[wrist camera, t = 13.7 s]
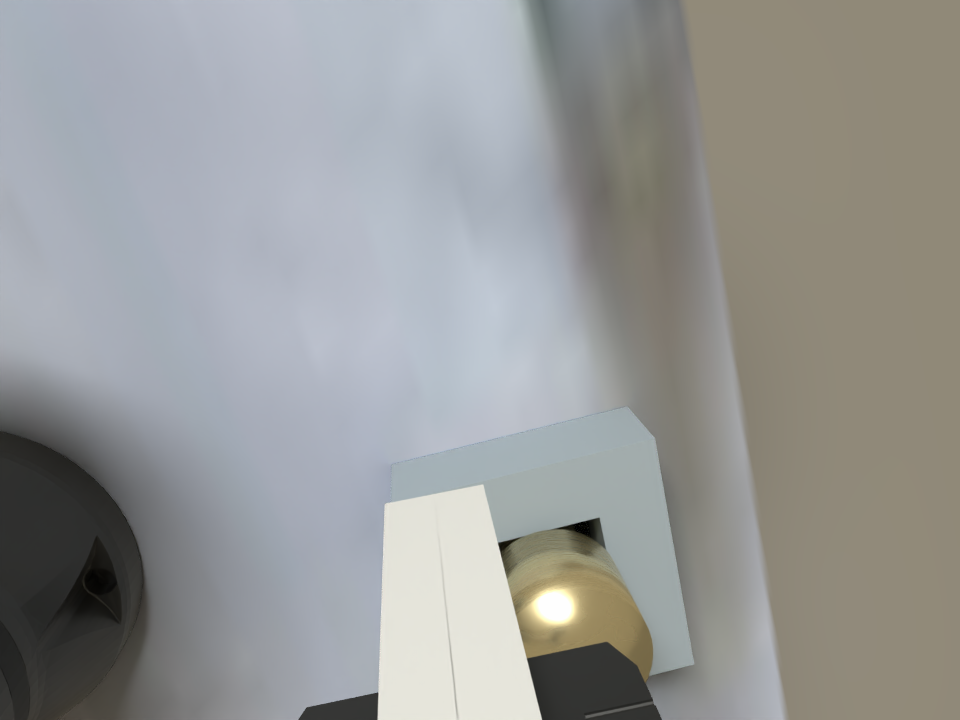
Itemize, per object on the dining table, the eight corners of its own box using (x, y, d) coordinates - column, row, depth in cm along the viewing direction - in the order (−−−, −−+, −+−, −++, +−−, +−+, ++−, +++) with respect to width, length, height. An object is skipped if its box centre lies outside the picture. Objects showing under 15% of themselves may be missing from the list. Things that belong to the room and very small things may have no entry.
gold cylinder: (542, 618, 43) (583, 755, 34) (446, 554, 42) (461, 679, 32) (619, 528, 42) (685, 642, 33) (524, 460, 41) (564, 559, 31)
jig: (665, 612, 44) (694, 664, 39) (447, 668, 43) (452, 726, 39) (627, 406, 40) (655, 438, 36) (391, 464, 40) (390, 503, 36)
